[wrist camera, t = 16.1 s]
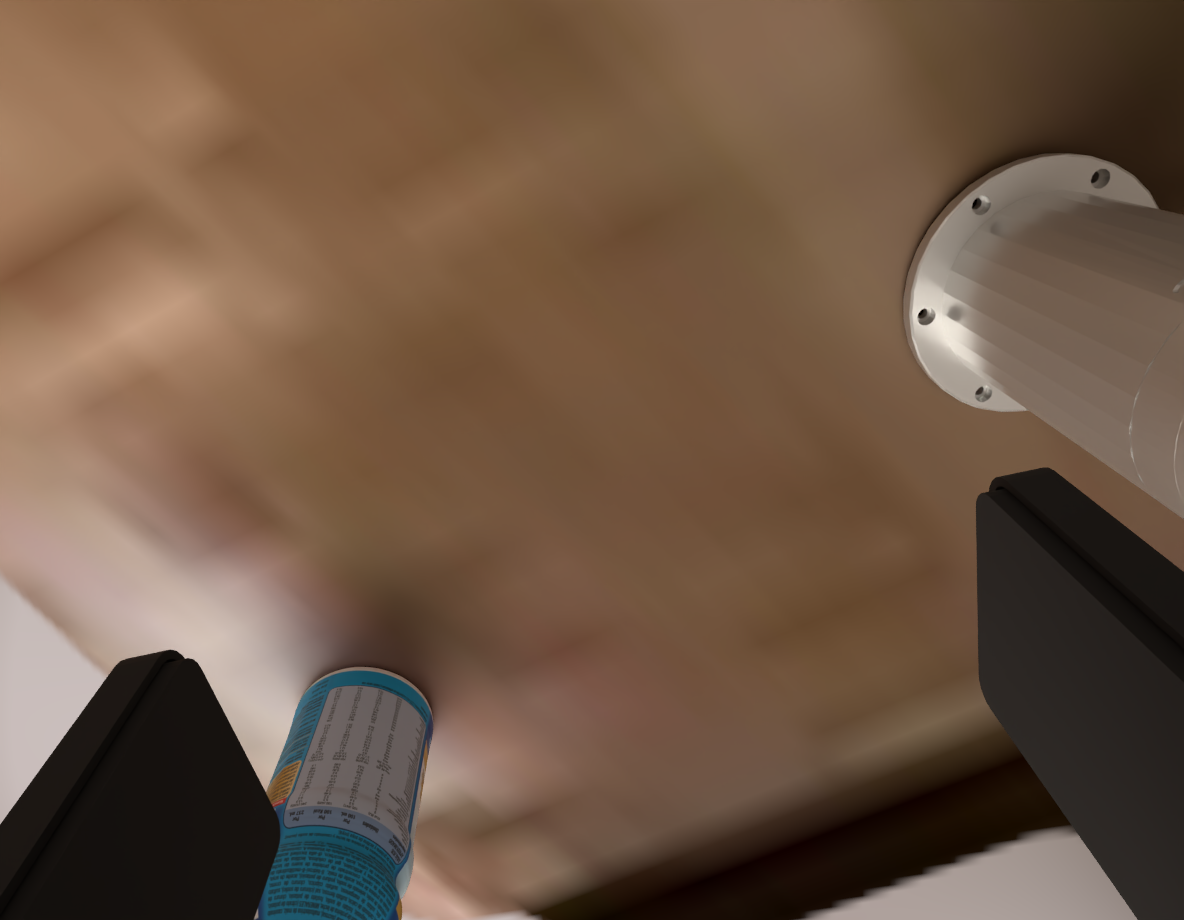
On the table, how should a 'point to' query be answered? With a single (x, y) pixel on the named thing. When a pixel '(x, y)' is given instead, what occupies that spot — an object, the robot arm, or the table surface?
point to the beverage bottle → (348, 799)
